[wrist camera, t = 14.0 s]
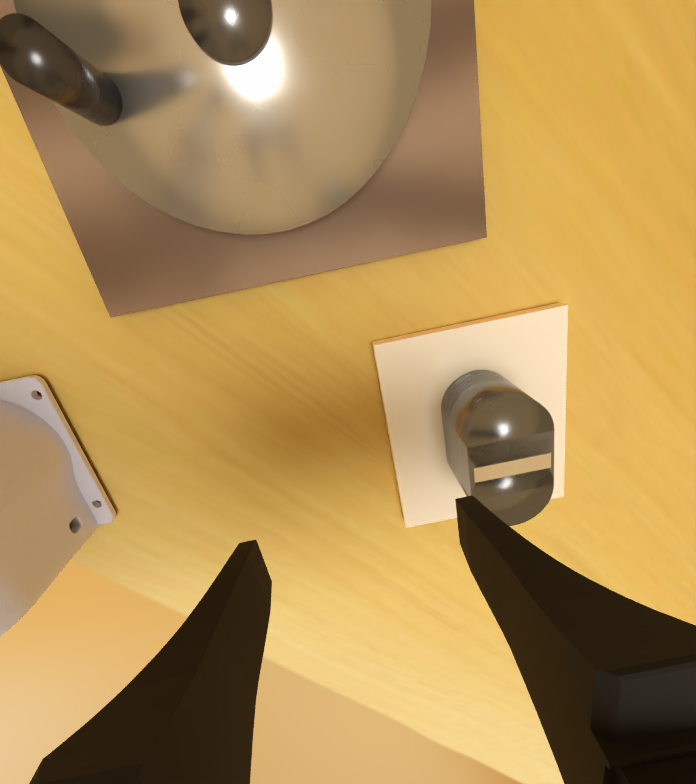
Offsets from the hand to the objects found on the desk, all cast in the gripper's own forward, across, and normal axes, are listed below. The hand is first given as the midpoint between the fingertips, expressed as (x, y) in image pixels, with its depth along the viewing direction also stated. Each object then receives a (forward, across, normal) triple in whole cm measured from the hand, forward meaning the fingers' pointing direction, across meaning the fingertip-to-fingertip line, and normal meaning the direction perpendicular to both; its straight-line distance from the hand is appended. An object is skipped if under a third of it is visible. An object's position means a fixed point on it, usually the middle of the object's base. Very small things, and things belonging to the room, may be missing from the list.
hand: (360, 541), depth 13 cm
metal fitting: (+8, -7, +1) cm, 11 cm away
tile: (+9, -7, +1) cm, 12 cm away
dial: (+8, +1, -18) cm, 19 cm away
